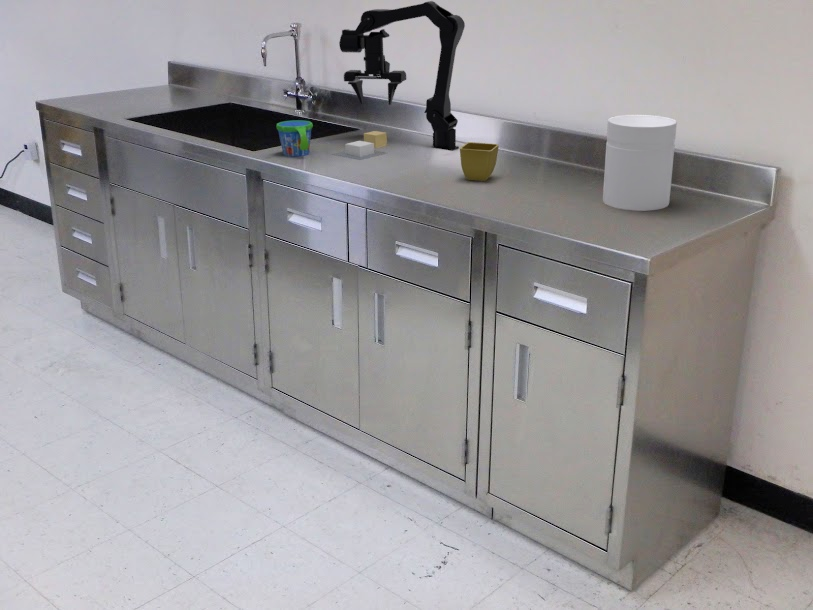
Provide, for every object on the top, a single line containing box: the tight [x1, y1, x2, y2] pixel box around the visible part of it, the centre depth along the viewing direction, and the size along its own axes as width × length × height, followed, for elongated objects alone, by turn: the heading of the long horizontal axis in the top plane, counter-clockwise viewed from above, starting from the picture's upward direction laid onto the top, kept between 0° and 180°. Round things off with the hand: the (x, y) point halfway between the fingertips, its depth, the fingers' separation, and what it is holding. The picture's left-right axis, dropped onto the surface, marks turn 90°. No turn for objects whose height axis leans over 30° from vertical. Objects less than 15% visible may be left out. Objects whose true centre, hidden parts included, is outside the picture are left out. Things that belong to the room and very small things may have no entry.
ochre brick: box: [363, 130, 388, 149], centre depth 292 cm, size 5×5×5 cm
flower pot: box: [459, 141, 499, 182], centre depth 255 cm, size 9×9×9 cm
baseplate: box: [331, 149, 387, 161], centre depth 283 cm, size 12×12×1 cm
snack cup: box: [276, 119, 314, 158], centre depth 282 cm, size 16×10×10 cm
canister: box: [602, 114, 678, 212], centre depth 229 cm, size 16×16×20 cm
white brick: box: [344, 140, 375, 157], centre depth 282 cm, size 6×6×3 cm
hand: (376, 104), depth 294 cm, fingers open, 9 cm apart
